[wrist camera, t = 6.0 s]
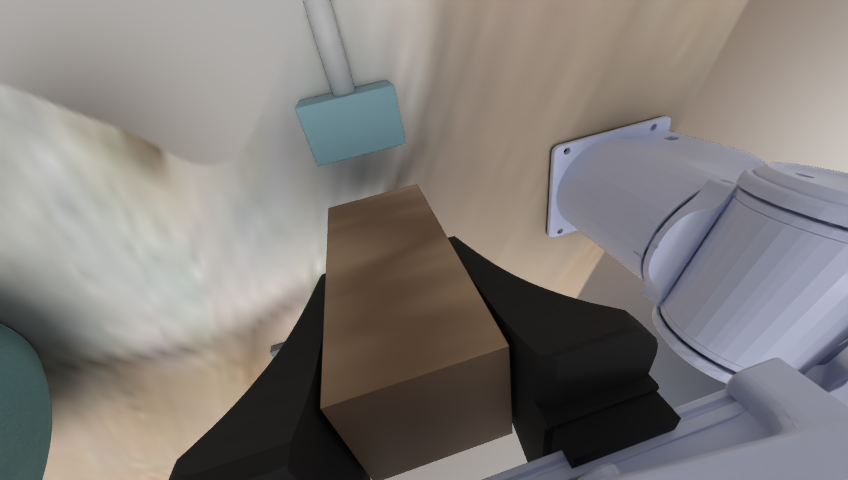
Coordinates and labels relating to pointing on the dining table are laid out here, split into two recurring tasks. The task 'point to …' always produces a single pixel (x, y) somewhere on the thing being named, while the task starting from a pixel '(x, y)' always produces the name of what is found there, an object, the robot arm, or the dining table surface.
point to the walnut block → (407, 339)
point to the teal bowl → (23, 409)
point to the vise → (345, 101)
